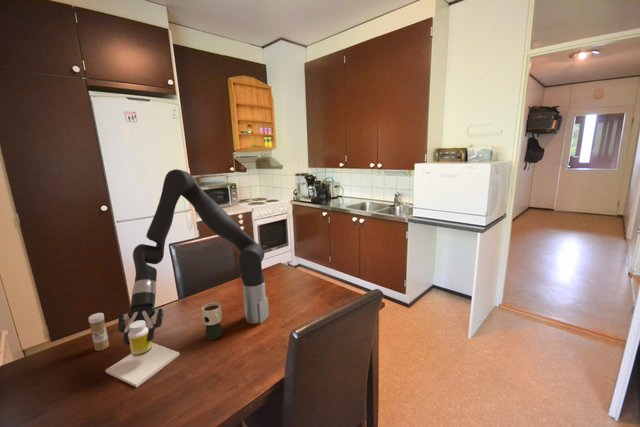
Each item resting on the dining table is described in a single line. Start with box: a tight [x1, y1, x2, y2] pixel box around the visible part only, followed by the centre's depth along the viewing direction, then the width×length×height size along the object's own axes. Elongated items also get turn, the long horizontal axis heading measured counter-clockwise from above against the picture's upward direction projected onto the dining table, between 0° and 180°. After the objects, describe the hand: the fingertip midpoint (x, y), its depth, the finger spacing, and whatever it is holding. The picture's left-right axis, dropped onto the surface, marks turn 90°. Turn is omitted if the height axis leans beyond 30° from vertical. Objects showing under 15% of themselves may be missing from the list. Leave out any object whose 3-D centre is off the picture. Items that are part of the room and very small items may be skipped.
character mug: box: [201, 301, 223, 341], centre depth 114 cm, size 11×7×13 cm, turn 44°
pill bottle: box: [128, 320, 152, 358], centre depth 99 cm, size 6×6×11 cm
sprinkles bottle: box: [88, 312, 110, 351], centre depth 109 cm, size 5×5×14 cm
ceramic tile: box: [105, 341, 180, 388], centre depth 101 cm, size 16×16×1 cm
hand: (138, 342), depth 97 cm, fingers closed on pill bottle, 6 cm apart
